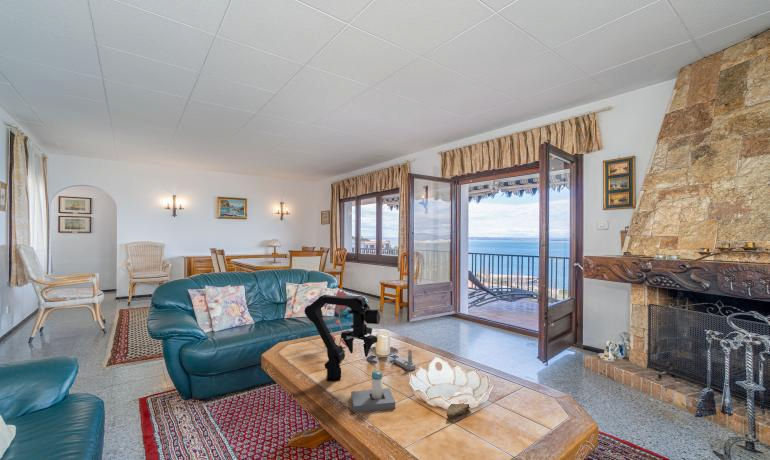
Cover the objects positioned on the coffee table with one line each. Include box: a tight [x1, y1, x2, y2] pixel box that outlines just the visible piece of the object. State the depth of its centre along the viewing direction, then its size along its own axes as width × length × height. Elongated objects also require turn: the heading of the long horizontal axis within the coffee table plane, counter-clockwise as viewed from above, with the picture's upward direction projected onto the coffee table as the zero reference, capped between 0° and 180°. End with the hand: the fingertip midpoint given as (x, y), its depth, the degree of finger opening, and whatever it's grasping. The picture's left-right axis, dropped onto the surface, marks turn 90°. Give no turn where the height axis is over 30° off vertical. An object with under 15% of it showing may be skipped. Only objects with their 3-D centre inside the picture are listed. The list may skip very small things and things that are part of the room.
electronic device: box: [394, 349, 416, 371], centre depth 189 cm, size 5×10×15 cm
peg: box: [371, 370, 383, 400], centre depth 148 cm, size 4×4×12 cm
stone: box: [446, 403, 471, 421], centre depth 138 cm, size 14×7×5 cm, turn 147°
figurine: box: [328, 289, 351, 348], centre depth 224 cm, size 15×26×35 cm, turn 46°
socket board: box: [350, 387, 396, 413], centre depth 148 cm, size 17×13×2 cm
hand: (358, 354), depth 168 cm, fingers open, 9 cm apart
